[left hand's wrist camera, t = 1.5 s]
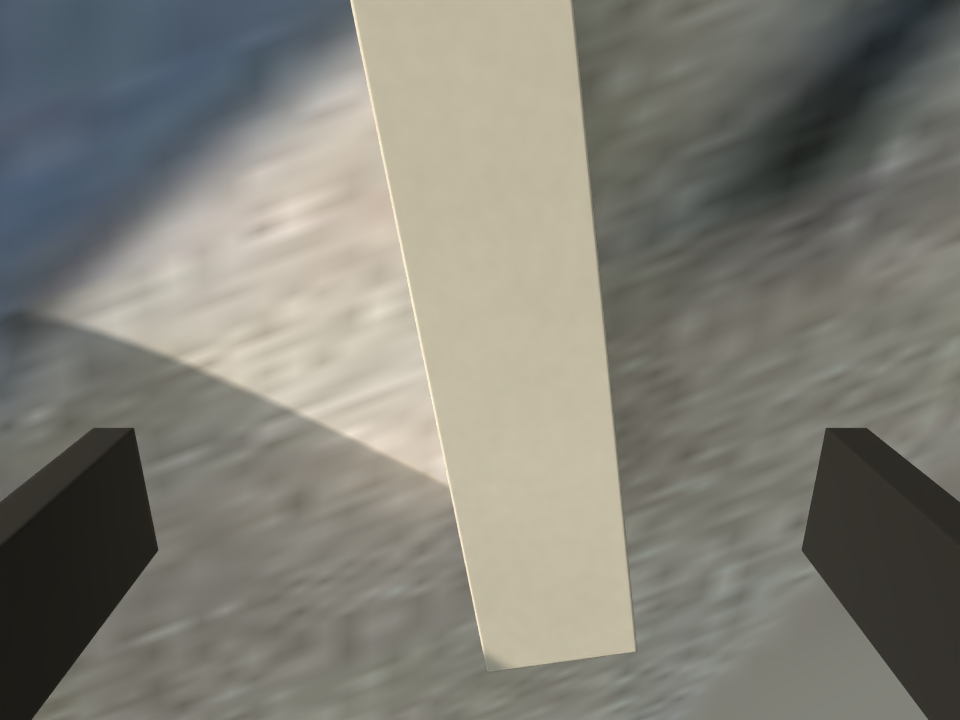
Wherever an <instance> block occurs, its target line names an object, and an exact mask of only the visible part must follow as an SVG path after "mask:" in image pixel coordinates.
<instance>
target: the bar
mask: <svg viewBox="0 0 960 720" xmlns="http://www.w3.org/2000/svg"><path fill="white" fill-rule="evenodd" d="M350 1H351V6H352V11H353V16H354V21H355V26H356V31H357V35H358V40H359V45H360V50H361V55H362V60H363V65H364V70H365V75H366V80H367V85H368V90H369V94H370V99H371V104H372V109H373V114H374V119H375V124H376V129H377V134H378V139H379V144H380V149H381V153H382V158H383V163H384V168H385V173H386V178H387V183H388V188H389V193H390V198H391V203H392V207H393V212H394V217H395V222H396V227H397V232H398V237H399V242H400V247H401V252H402V257H403V262H404V266H405V271H406V276H407V281H408V286H409V291H410V296H411V301H412V306H413V311H414V316H415V321H416V325H417V330H418V335H419V340H420V345H421V350H422V355H423V360H424V365H425V370H426V375H427V379H428V384H429V389H430V394H431V399H432V404H433V409H434V414H435V419H436V424H437V429H438V434H439V438H440V443H441V448H442V453H443V458H444V463H445V468H446V473H447V478H448V483H449V488H450V493H451V497H452V502H453V507H454V512H455V517H456V522H457V527H458V532H459V537H460V542H461V547H462V552H463V556H464V561H465V566H466V571H467V576H468V581H469V586H470V591H471V596H472V601H473V606H474V610H475V615H476V620H477V625H478V630H479V635H480V640H481V645H482V650H483V655H484V660H485V665H486V669H487V671H488V672H493V671H501V670H508V669H515V668H523V667H530V666H537V665H544V664H552V663H559V662H566V661H574V660H581V659H588V658H595V657H603V656H610V655H617V654H625V653H632V652H636V651H637V644H636V634H635V624H634V613H633V603H632V593H631V583H630V573H629V563H628V553H627V542H626V532H625V522H624V512H623V502H622V492H621V481H620V471H619V461H618V451H617V441H616V431H615V420H614V410H613V400H612V390H611V380H610V370H609V359H608V349H607V339H606V329H605V319H604V309H603V299H602V288H601V278H600V268H599V258H598V248H597V238H596V227H595V217H594V207H593V197H592V187H591V177H590V166H589V156H588V146H587V136H586V126H585V116H584V105H583V95H582V85H581V75H580V65H579V55H578V45H577V34H576V24H575V14H574V4H573V0H350Z"/></svg>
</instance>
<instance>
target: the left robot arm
mask: <svg viewBox="0 0 960 720" xmlns="http://www.w3.org/2000/svg"><path fill="white" fill-rule="evenodd" d="M157 551H158V546H157V541H156V536H155V531H154V526H153V521H152V516H151V511H150V506H149V501H148V496H147V491H146V486H145V481H144V476H143V471H142V466H141V461H140V456H139V451H138V446H137V441H136V436H135V431H134V428H93V429H92V430H90V431H89V432H88V433H87V434H85V435H84V436H83V437H82V438H80V439H79V440H78V441H77V442H75V443H74V444H73V445H72V446H70V447H69V448H68V449H67V450H65V451H64V452H63V453H62V454H60V455H59V456H58V457H57V458H55V459H54V460H53V461H52V462H50V463H49V464H48V465H46V466H45V467H44V468H43V469H41V470H40V471H39V472H38V473H36V474H35V475H34V476H33V477H31V478H30V479H29V480H28V481H26V482H25V483H24V484H23V485H21V486H20V487H19V488H18V489H16V490H15V491H14V492H13V493H11V494H10V495H9V496H8V497H6V498H5V499H4V500H3V501H1V502H0V720H32V718H33V717H34V716H35V714H36V713H37V712H38V710H39V709H40V708H41V706H42V705H43V704H44V702H45V701H46V700H47V698H48V697H49V696H50V694H51V693H52V692H53V690H54V689H55V688H56V686H57V685H58V684H59V682H60V681H61V680H62V678H63V677H64V676H65V674H66V673H67V672H68V670H69V669H70V668H71V666H72V665H73V664H74V662H75V661H76V660H77V658H78V657H79V656H80V654H81V653H82V652H83V650H84V649H85V647H86V646H87V645H88V643H89V642H90V641H91V639H92V638H93V637H94V635H95V634H96V633H97V631H98V630H99V629H100V627H101V626H102V625H103V623H104V622H105V621H106V619H107V618H108V617H109V615H110V614H111V613H112V611H113V610H114V609H115V607H116V606H117V605H118V603H119V602H120V601H121V599H122V598H123V597H124V595H125V594H126V593H127V591H128V590H129V589H130V587H131V586H132V585H133V583H134V582H135V581H136V579H137V578H138V577H139V575H140V574H141V573H142V571H143V570H144V569H145V567H146V566H147V565H148V563H149V562H150V561H151V559H152V558H153V557H154V555H155V554H156V553H157ZM802 551H803V553H804V554H805V555H806V557H807V558H808V559H809V561H810V562H811V563H812V565H813V566H814V567H815V569H816V570H817V571H818V573H819V574H820V575H821V577H822V578H823V579H824V581H825V582H826V583H827V585H828V586H829V587H830V589H831V590H832V591H833V593H834V594H835V595H836V597H837V598H838V599H839V601H840V602H841V603H842V605H843V606H844V607H845V609H846V610H847V611H848V613H849V614H850V615H851V617H852V618H853V619H854V621H855V622H856V623H857V625H858V626H859V627H860V629H861V630H862V631H863V633H864V634H865V635H866V637H867V638H868V639H869V641H870V642H871V643H872V645H873V646H874V647H875V649H876V650H877V652H878V653H879V654H880V655H881V657H882V658H883V660H884V661H885V662H886V663H887V665H888V666H889V668H890V669H891V670H892V672H893V673H894V674H895V676H896V677H897V678H898V680H899V681H900V682H901V683H902V685H903V686H904V688H905V689H906V690H907V692H908V693H909V694H910V696H911V697H912V698H913V700H914V701H915V702H916V704H917V705H918V706H919V708H920V709H921V710H922V712H923V713H924V714H925V716H926V717H927V718H928V720H960V502H959V501H957V500H956V499H955V498H954V497H952V496H951V495H950V494H949V493H947V492H946V491H945V490H944V489H942V488H941V487H940V486H939V485H937V484H936V483H935V482H934V481H932V480H931V479H930V478H929V477H927V476H926V475H925V474H924V473H922V472H921V471H920V470H919V469H917V468H916V467H915V466H914V465H912V464H911V463H910V462H908V461H907V460H906V459H905V458H903V457H902V456H901V455H900V454H898V453H897V452H896V451H895V450H893V449H892V448H891V447H890V446H888V445H887V444H886V443H885V442H883V441H882V440H881V439H880V438H878V437H877V436H876V435H875V434H873V433H872V432H871V431H870V430H868V429H867V428H826V431H825V436H824V441H823V446H822V451H821V456H820V461H819V466H818V471H817V476H816V481H815V486H814V491H813V496H812V501H811V506H810V511H809V516H808V521H807V526H806V531H805V536H804V541H803V546H802Z"/></svg>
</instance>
